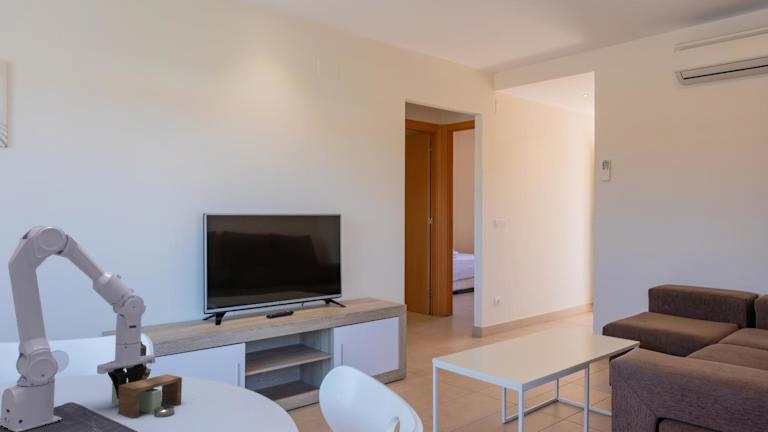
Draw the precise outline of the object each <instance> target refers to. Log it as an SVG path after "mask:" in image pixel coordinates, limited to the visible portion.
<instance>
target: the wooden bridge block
mask: <svg viewBox="0 0 768 432" xmlns="http://www.w3.org/2000/svg"><path fill="white" fill-rule="evenodd" d="M182 382H183V377H182V376H177V375H172V374H167V373H166V374H162V375H157V376H154V377H153V376H152V377H148V378H147V379H144V380H140V381H136V382H132V383H128V384H124V385H119V402H118V405H117V407H118V408H117V414H118V415H120V416H124V417H128V418H131V419H136V418H137V419H138V418H139V413H140V411H139V392H140V391H144V390H148V389H152V388H154V389H156V388H159V387H161V403H166V404H171V405H175V406H180V405H182V392H183V391H182V385H183V383H182Z"/></svg>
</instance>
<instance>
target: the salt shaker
mask: <svg viewBox="0 0 768 432" xmlns="http://www.w3.org/2000/svg"><path fill="white" fill-rule="evenodd" d="M146 355H147V346H146V344H143V341H142V340H141V348H140V356H146ZM143 366H145V367H146V372H145V373H144V375H143V377H142V379H141V380H144V379H148V378H150V375H151V372H152V368H148V367H147V364H145V365H143Z"/></svg>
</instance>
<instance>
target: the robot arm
mask: <svg viewBox="0 0 768 432" xmlns="http://www.w3.org/2000/svg"><path fill="white" fill-rule="evenodd" d="M51 256H58V257H61V258H65V259H67V260H69V261H70V262H71V264H73V266H75V267H76V268H78V270H80V271H81V272H82V273H83V274H84V275H86V276H87V277H88V278H89V279H90V280H92V289H93V290H94V291H95V292H96V293H97V295H99V296H100V297H101V298H102V299H103V300H104V301H106V303H108V305H109V306H111V307H112V311H113V312H114V313H116V325H115V346H114V347H115V348H114V349H115V351H114V353H115V354H114V360H112V361H108V362H105V363H103V364H98V365H97V366H96V369H97V370H96V373H97V375H98V374H99V375H105V374H106V373H107V375H108V377H109V379H110V381H111V382H112V383H113V385H114V387H115V391H116V395H117V399H119V385H124V384H126V382H128V383H132V382H136V381H140V380H141V379H142V377H143V375H144V373H145V372H146V367H145V366H143V365H145V364H146V365H149V364H151V365H152V364H155V363H156V355H154V354H146V356H140V348H141V341H142V339H141V338H142V316H143V315H144V314H145V311H146V309H147V306H146V305H145V301H144V300H143V298H142V297H141V296H139V295H135V294H134V292H135V290H134V289H133V288H132V287H128V286H127V284H125V283H124V282H123V281H122V280H121V279H122V276H121V275H120V274H119V273H114V272H113V271H104V270H103V269H102V268H101V266H99V264H98V263H97V262H96V261H95V260H94V259H93V258H92V257H91V256H90V255H89V254H88V253H87V252H86V250H84V248H82V246H81V245H80V244H79V243H78V242H77V241H75V239H74V237H72V236H70V235H69V234H67V233H66V232H65V231H64V229H62V228H61V227H59V226H56V225H53V224H49V225H48V224H47V225H36V226H33V227H32V228H30V229H29V230H28V231H27V232H25V233H24V234H23V235H22V236H21V237H20V239H19V241H18V244H17V246H16V248H15V249H14V251H13V253H12V255H11V257H10V259H9V260H8V262H7V263H8V265H7V267H8V274H9V279H10V287H11V294H12V300H13V306H14V312H15V318H16V319H15V320H16V325H17V330H18V331H17V332H18V337H19V344H18V357H17V360H16V363H15V369H16V371H17V373H19V375H20V376H19V378H18V379H17V381H16V384H15V385H14V386H11V387H8V388H6V389H4V391H3V392H2V396H1V405H0V406H1V408H0V425H2V426H4V427H6V428H8V429H7V430H8V431H12V432H24V431H27V430H31V429H34V428H37V427H41V426H45V424H46V425H49V424H52V423H56V422H59V421H58V420H60V421H62V420H63V418H62V417H60V416H58V415H54V412H55V409H54V408H55V387H56V386H55V383H56V377H55V376H56V375H57V373H58V371H59V370H58V369H59V364H58V361H57V360H56V358H55V357H54V355H53V354H52V352H51V346H50V344H49V342H48V340H47V335H46V329H45V322H44V315H43V308H42V303H41V296H40V290H39V289H40V288H39V282H38V276H37V268H38V267H40V265H42V264H43V263H44V262H45V261H46V260H47V258H50V257H51ZM61 419H62V420H61ZM4 427H3V428H4ZM6 428H5V429H6Z"/></svg>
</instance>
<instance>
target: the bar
mask: <svg viewBox="0 0 768 432" xmlns="http://www.w3.org/2000/svg"><path fill="white" fill-rule="evenodd" d="M126 384H128V381H127V382H126ZM118 402H119V399H117V395H116V391H115V387H114V385H113V382H112V383H111V404H113V405H117V406H118ZM158 407H162V389H157V388H152V389H148V390H144V391H140V392H139V412H142V413H146V414H150V415H154V409H156V408H158Z"/></svg>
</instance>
